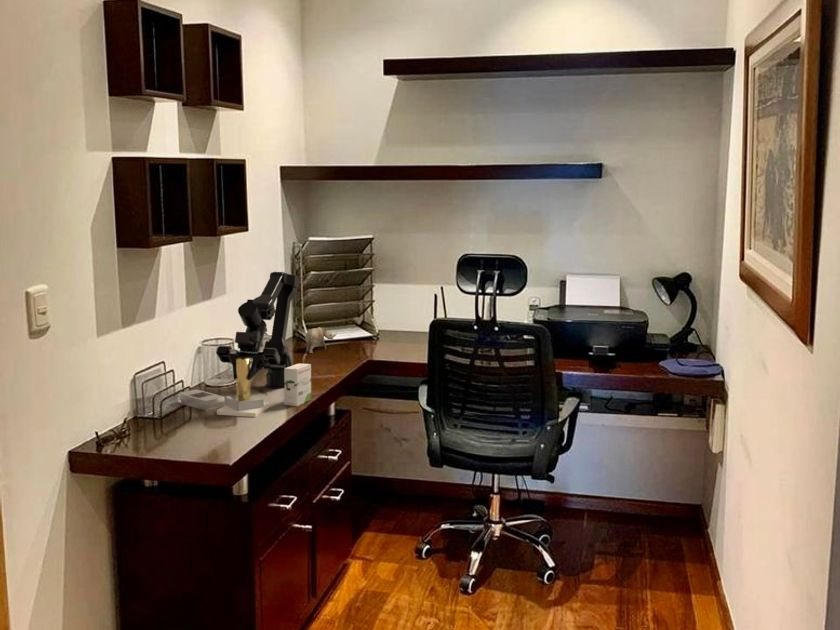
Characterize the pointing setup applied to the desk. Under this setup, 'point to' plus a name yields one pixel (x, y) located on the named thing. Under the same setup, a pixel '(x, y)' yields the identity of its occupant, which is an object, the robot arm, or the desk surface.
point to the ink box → (297, 384)
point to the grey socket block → (202, 399)
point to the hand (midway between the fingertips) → (241, 379)
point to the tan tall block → (243, 378)
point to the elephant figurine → (317, 338)
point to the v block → (243, 407)
